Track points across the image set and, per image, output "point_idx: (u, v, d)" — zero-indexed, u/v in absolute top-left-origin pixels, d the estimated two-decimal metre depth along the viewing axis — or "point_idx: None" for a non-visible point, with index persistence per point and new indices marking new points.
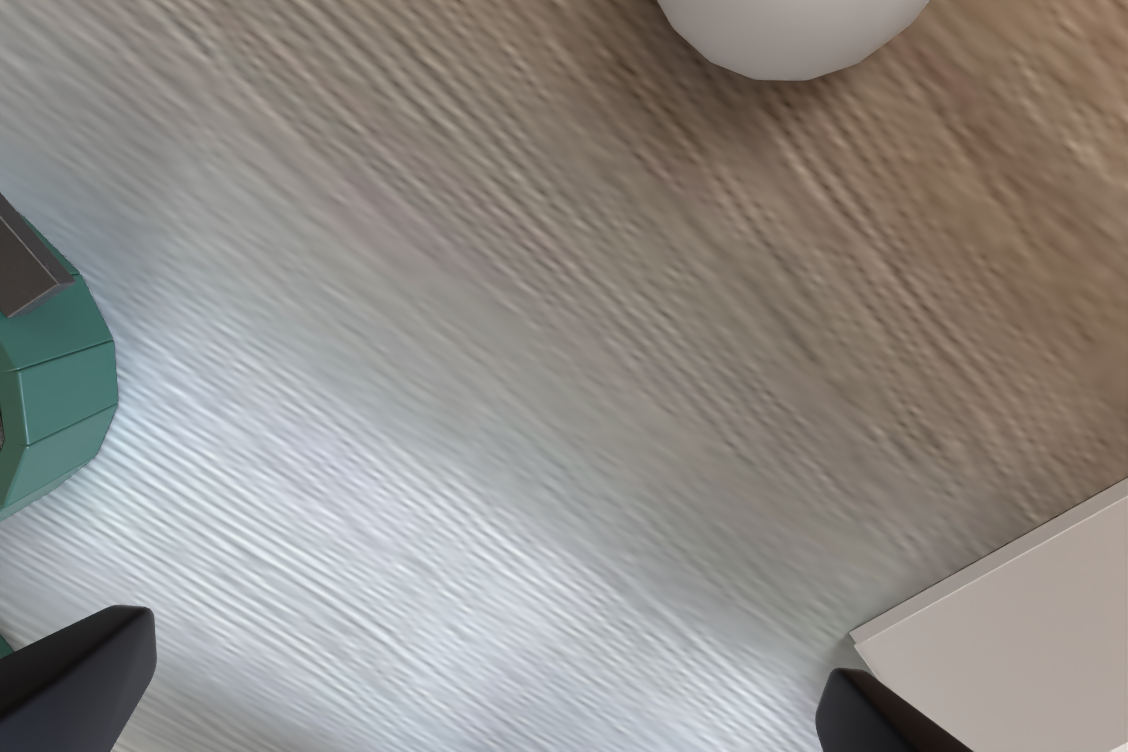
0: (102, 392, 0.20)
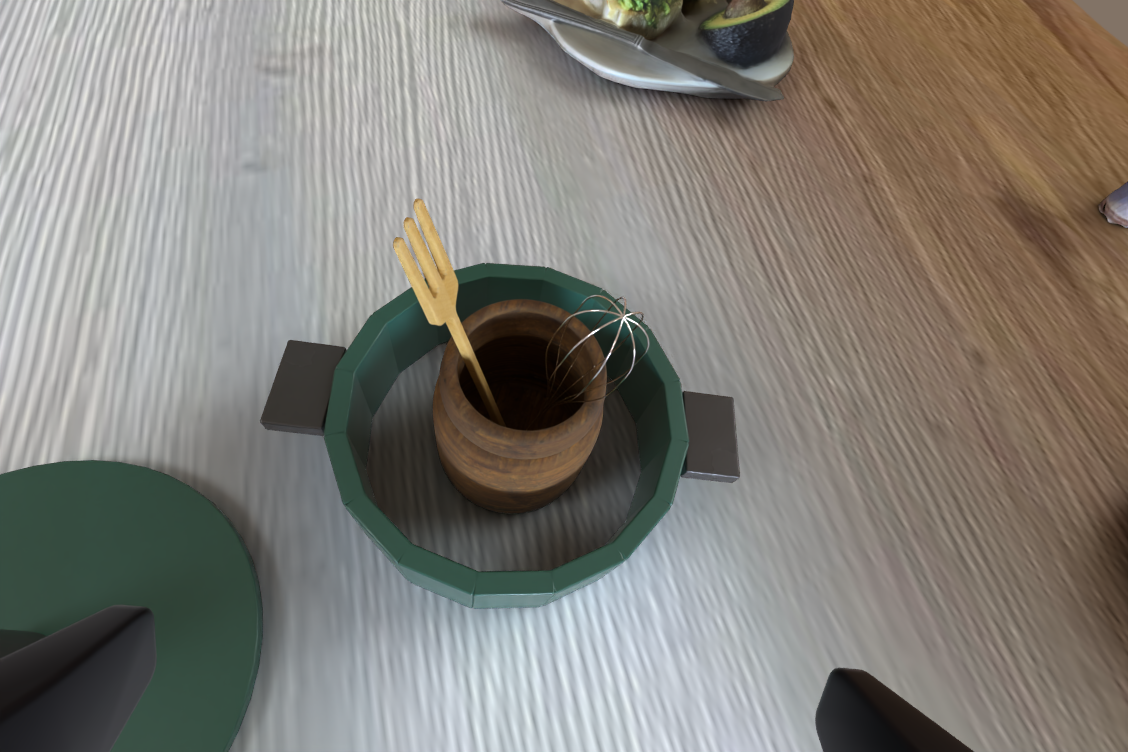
0: None
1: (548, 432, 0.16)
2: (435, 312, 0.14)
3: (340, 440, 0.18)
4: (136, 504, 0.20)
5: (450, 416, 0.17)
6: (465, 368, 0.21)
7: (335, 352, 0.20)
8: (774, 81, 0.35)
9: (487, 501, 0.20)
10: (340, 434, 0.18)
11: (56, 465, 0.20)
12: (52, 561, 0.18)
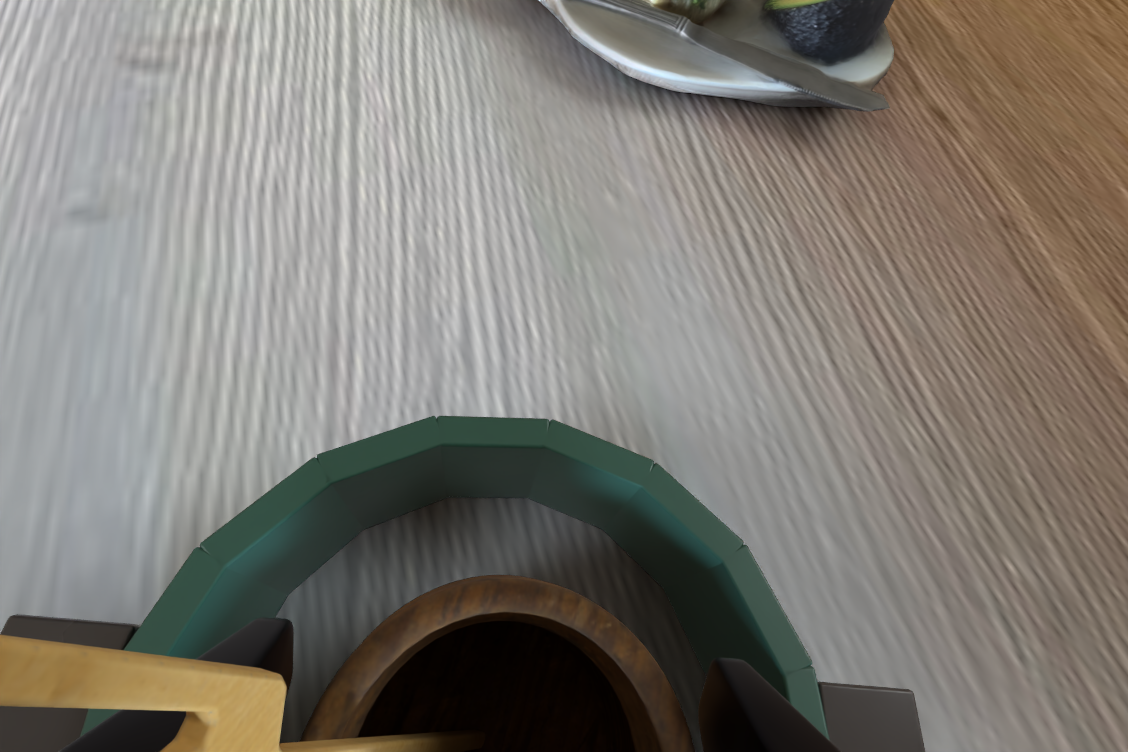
0: None
1: None
2: None
3: None
4: None
5: None
6: None
7: (108, 641, 0.09)
8: (872, 83, 0.25)
9: None
10: None
11: None
12: None
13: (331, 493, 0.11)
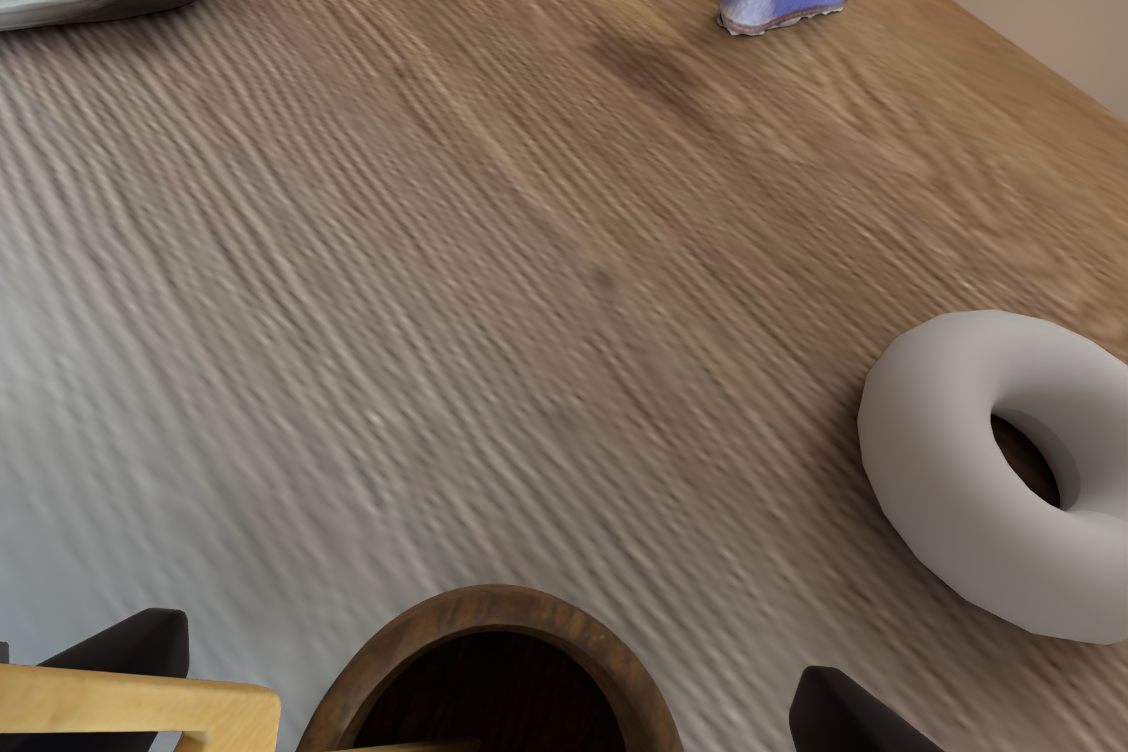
0: None
1: None
2: None
3: None
4: None
5: None
6: None
7: None
8: None
9: None
10: None
11: None
12: None
13: None
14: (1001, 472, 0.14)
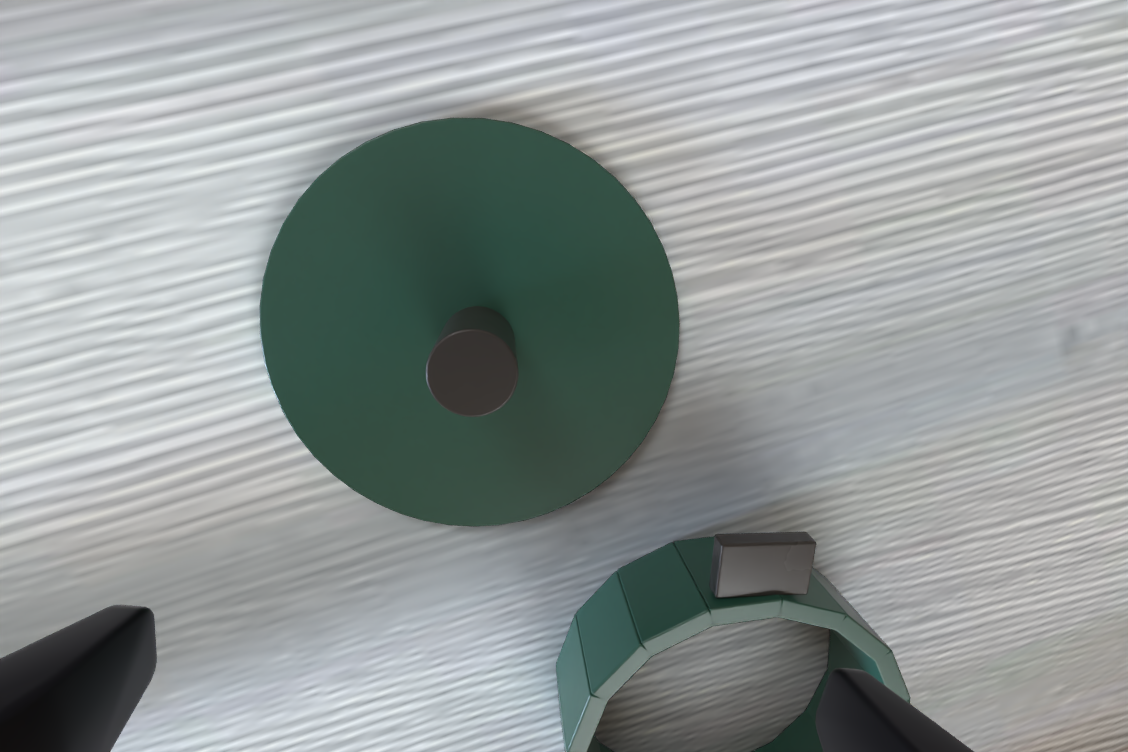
0: None
1: None
2: None
3: (704, 624, 0.18)
4: (635, 382, 0.19)
5: None
6: None
7: (801, 587, 0.18)
8: None
9: None
10: (710, 623, 0.18)
11: (672, 293, 0.19)
12: (577, 331, 0.19)
13: None
14: None
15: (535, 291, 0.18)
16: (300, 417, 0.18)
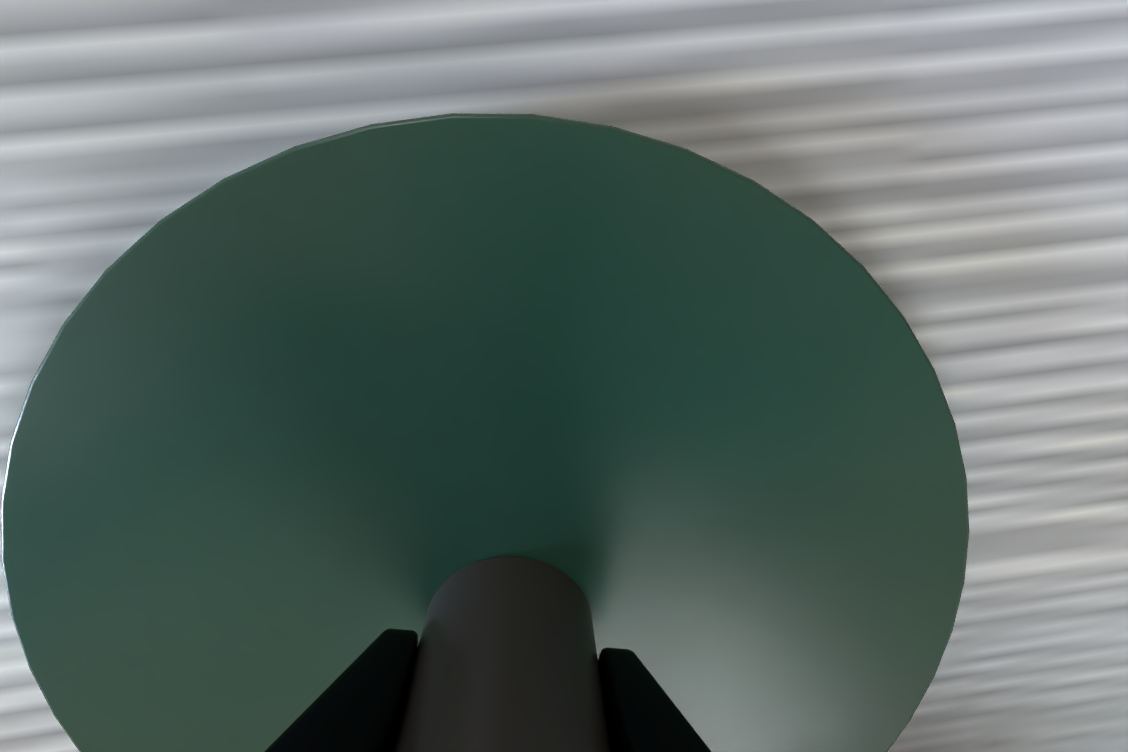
0: None
1: None
2: None
3: None
4: (828, 727, 0.09)
5: None
6: None
7: None
8: None
9: None
10: None
11: (957, 572, 0.08)
12: (732, 625, 0.08)
13: None
14: None
15: (658, 539, 0.08)
16: (92, 728, 0.08)
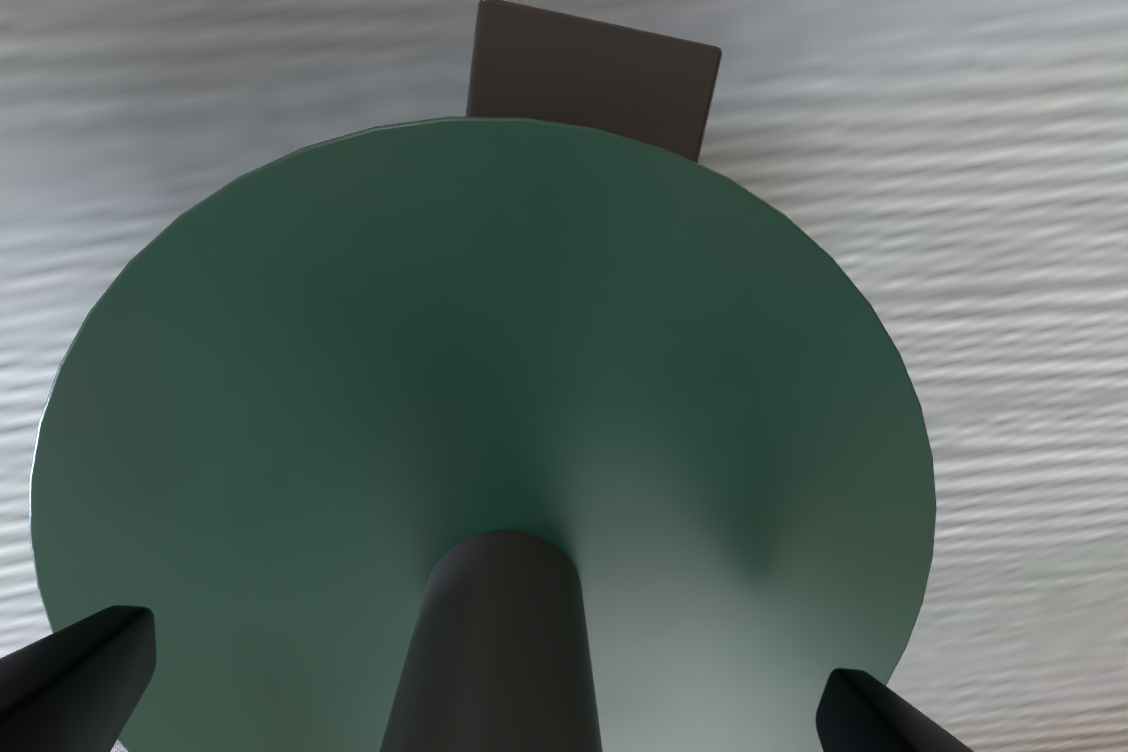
0: None
1: None
2: None
3: None
4: (806, 696, 0.10)
5: None
6: None
7: None
8: None
9: None
10: None
11: (926, 547, 0.09)
12: (714, 597, 0.09)
13: None
14: None
15: (643, 515, 0.08)
16: None
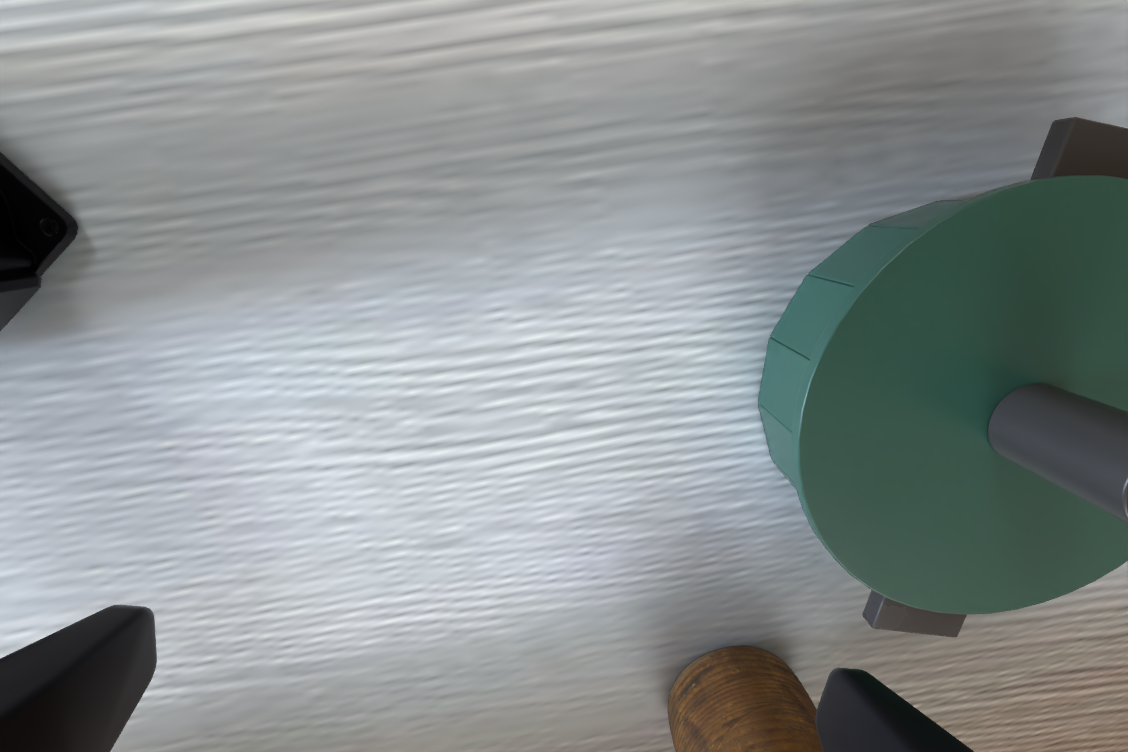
0: (790, 481, 0.21)
1: None
2: None
3: None
4: None
5: None
6: None
7: None
8: None
9: (704, 691, 0.22)
10: None
11: None
12: None
13: None
14: None
15: (1108, 376, 0.16)
16: (814, 475, 0.17)
